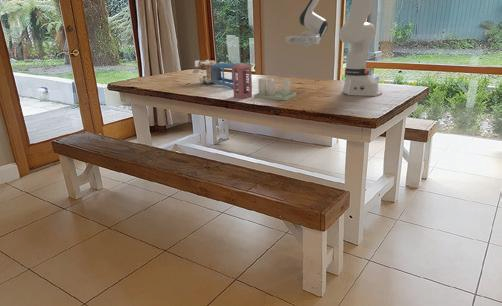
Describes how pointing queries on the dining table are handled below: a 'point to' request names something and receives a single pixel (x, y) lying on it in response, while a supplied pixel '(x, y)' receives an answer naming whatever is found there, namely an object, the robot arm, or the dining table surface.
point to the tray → (276, 96)
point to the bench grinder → (215, 72)
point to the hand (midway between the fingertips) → (297, 40)
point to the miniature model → (242, 80)
